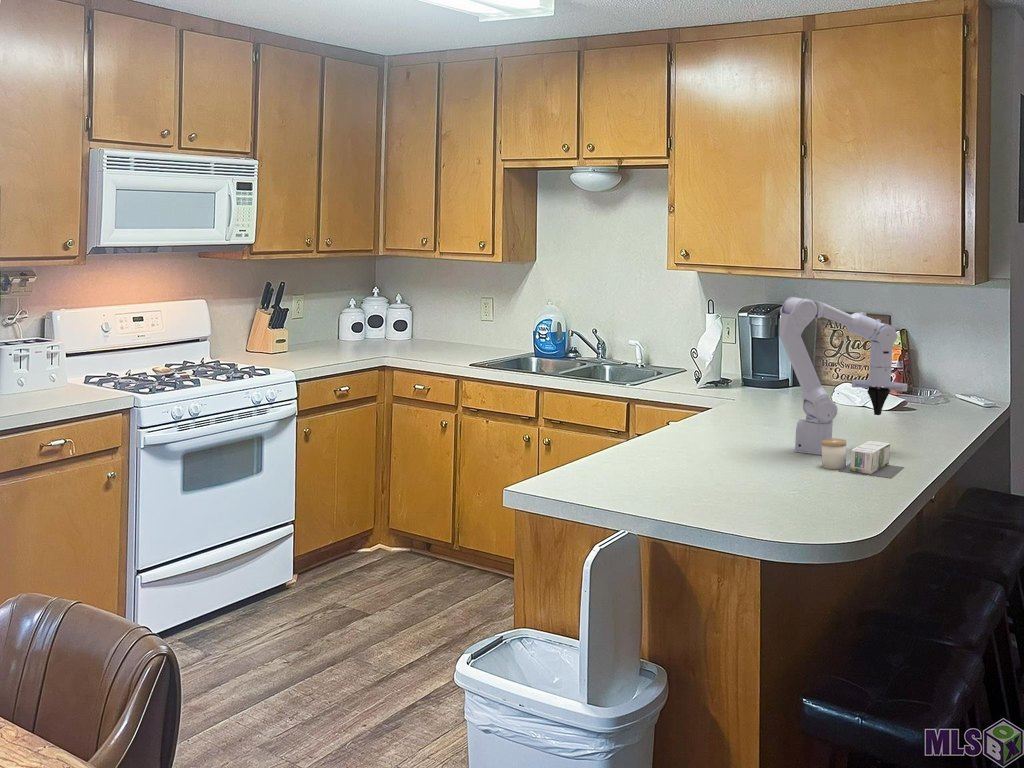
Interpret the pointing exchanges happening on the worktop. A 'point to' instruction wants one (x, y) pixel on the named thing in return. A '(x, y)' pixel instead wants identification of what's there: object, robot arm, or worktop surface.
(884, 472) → the mat
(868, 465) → the syrup box
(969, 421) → the worktop surface
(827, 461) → the canister
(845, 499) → the worktop surface
